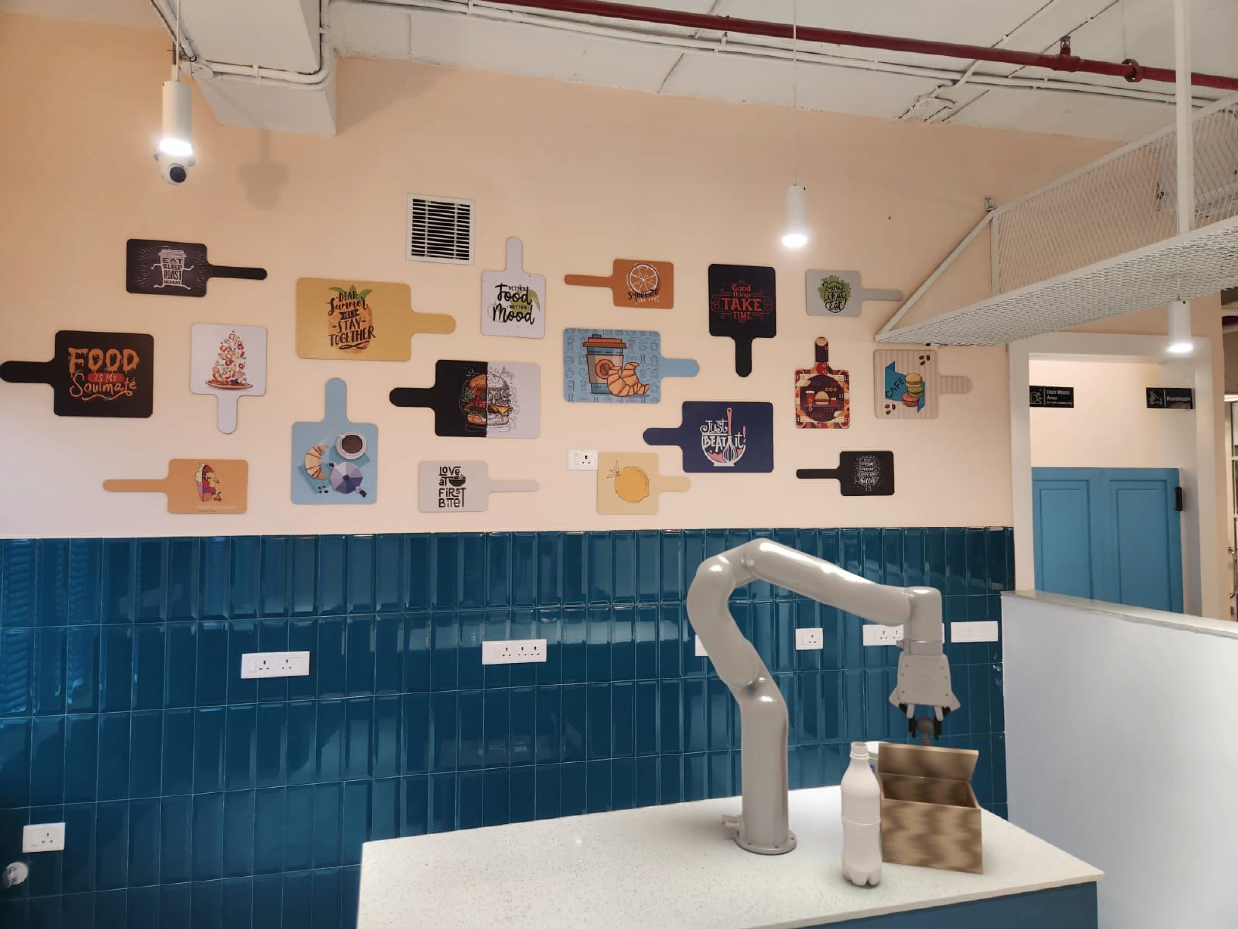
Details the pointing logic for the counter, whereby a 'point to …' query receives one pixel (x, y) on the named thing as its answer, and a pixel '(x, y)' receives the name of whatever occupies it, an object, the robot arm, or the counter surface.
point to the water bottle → (860, 819)
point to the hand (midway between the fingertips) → (924, 736)
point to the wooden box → (930, 823)
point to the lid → (926, 758)
